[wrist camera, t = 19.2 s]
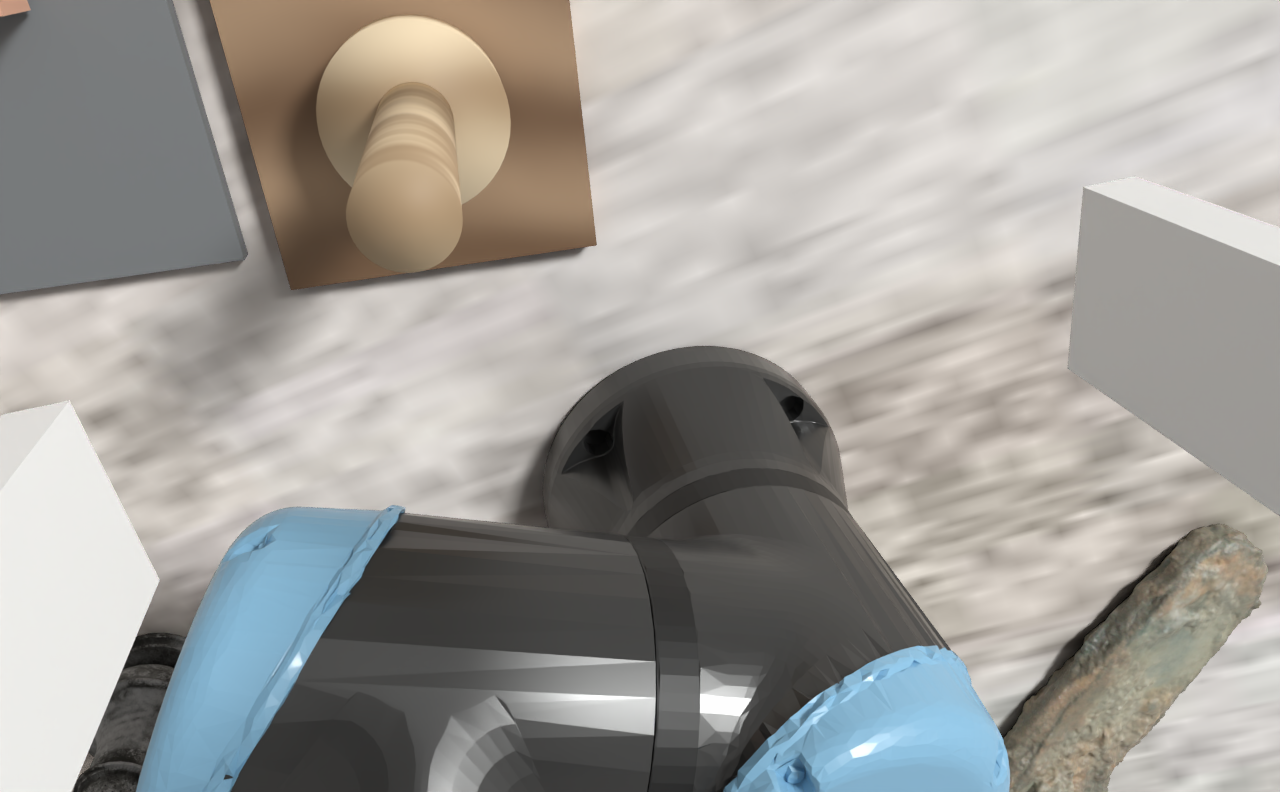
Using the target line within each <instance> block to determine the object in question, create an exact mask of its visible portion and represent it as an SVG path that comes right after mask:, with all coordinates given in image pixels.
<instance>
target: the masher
mask: <svg viewBox="0 0 1280 792" xmlns="http://www.w3.org/2000/svg"><path fill="white" fill-rule="evenodd" d="M316 117H317V125H318V131H319V135H320V139H321V142H322V145H323V147H324V150H325V152H326V154H327V156H328V158H329V160H330V161H331V163H332V165H333V166H334V168H335V169H336V171H337V172H338V173H339V174H340V176H341V177H342V178H343V179H344V180H345V181H346V182H347V183H348V184H349V185H350V186H351V187H352V189H351V192H350V195H349V198H348V202H347V208H346V221H347V227H348V230H349V233H350V236H351V238H352V240H353V242H354V243H355V245H356V246H357V248H358V249H359V250H360V251H361V253H362V254H363V255H365V256H366V257H367V258H368V259H369V260H371V261H372V262H373V263H375V264H377V265H379V266H380V267H383V268H385V269H388V270H391V271H395V272H402V273H413V272H420V271H424V270H427V269H430V268H432V267H434V266H436V265H438V264H439V263H441V262H442V261H443V260H445V259H446V258H447V257H448V256H449V255H450V254H451V252H452V251H453V250H454V248H455V247H456V245H457V243H458V241H459V238H460V235H461V232H462V225H463V216H462V204H464V203H466V202H468V201H469V200H471V199H472V198H473V197H475V196H476V195H478V194H479V193H480V192H481V191H482V190H483V189H484V188H485V187H486V186H487V185H488V184H489V183H490V182H491V180H492V179H493V178H494V176H495V175H496V173H497V172H498V170H499V169H500V166H501V164H502V162H503V160H504V158H505V155H506V152H507V148H508V144H509V138H510V128H511V119H510V109H509V104H508V99H507V96H506V93H505V90H504V87H503V84H502V82H501V80H500V77H499V75H498V73H497V71H496V69H495V67H494V65H493V63H492V62H491V60H490V59H489V57H488V56H487V54H486V53H485V52H484V51H483V49H482V48H481V47H480V46H479V45H478V44H477V43H476V42H475V41H474V40H473V39H472V38H471V37H470V36H468V35H467V34H466V33H464V32H463V31H461V30H460V29H458V28H457V27H455V26H453V25H451V24H449V23H447V22H445V21H442V20H439V19H437V18H433V17H429V16H425V15H416V14H398V15H393V16H387V17H384V18H381V19H378V20H375V21H373V22H371V23H369V24H367V25H365V26H363V27H362V28H360V29H359V30H357V31H356V32H355V33H353V34H352V35H351V36H350V37H349V38H348V39H347V40H346V41H345V42H344V43H343V45H342V46H341V47H340V48H339V50H338V51H337V52H336V54H335V55H334V56H333V58H332V59H331V60H330V62H329V64H328V66H327V67H326V69H325V71H324V74H323V76H322V79H321V82H320V85H319V90H318V94H317V103H316Z"/></svg>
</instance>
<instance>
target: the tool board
mask: <svg viewBox="0 0 1280 792" xmlns="http://www.w3.org/2000/svg"><path fill="white" fill-rule="evenodd" d="M210 4H211V7H212V11H213V14H214V18H215V21H216V25H217V28H218V32H219V36H220V39H221V43H222V46H223V50H224V53H225V57H226V61H227V64H228V68H229V71H230V75H231V78H232V82H233V85H234V89H235V93H236V96H237V100H238V103H239V107H240V110H241V114H242V118H243V121H244V125H245V128H246V132H247V135H248V139H249V142H250V146H251V150H252V153H253V157H254V160H255V164H256V167H257V171H258V174H259V178H260V182H261V185H262V189H263V192H264V196H265V199H266V203H267V207H268V210H269V214H270V217H271V221H272V224H273V228H274V231H275V235H276V239H277V242H278V246H279V249H280V253H281V256H282V260H283V263H284V267H285V271H286V274H287V278H288V281H289V285H290V288H291V290H295V289H302V288H309V287H316V286H323V285H329V284H336V283H343V282H350V281H357V280H363V279H370V278H377V277H384V276H391V275H398V274H404V273H402V272H395V271H391V270H388V269H385V268H383V267H380V266H379V265H377V264H375V263H373V262H372V261H371V260H369V259H368V258H367V257H366V256H365V255H363V254H362V253H361V251H360V250H359V249H358V248H357V246H356V245H355V243H354V242H353V240H352V238H351V236H350V233H349V230H348V227H347V221H346V208H347V202H348V198H349V195H350V192H351V189H352V187H351V186H350V185H349V184H348V183H347V182H346V181H345V180H344V179H343V178H342V177H341V176H340V174H339V173H338V172H337V171H336V169H335V168H334V166H333V165H332V163H331V161H330V160H329V158H328V156H327V154H326V152H325V150H324V147H323V145H322V142H321V139H320V135H319V131H318V125H317V117H316V103H317V94H318V90H319V85H320V82H321V79H322V76H323V74H324V71H325V69H326V67H327V66H328V64H329V62H330V60H331V59H332V58H333V56H334V55H335V54H336V52H337V51H338V50H339V48H340V47H341V46H342V45H343V43H344V42H345V41H346V40H347V39H348V38H349V37H350V36H351V35H352V34H353V33H355V32H356V31H357V30H359V29H360V28H362V27H363V26H365V25H367V24H369V23H371V22H373V21H375V20H378V19H381V18H384V17H387V16H393V15H398V14H416V15H425V16H429V17H433V18H437V19H439V20H442V21H445V22H447V23H449V24H451V25H453V26H455V27H457V28H458V29H460V30H461V31H463V32H464V33H466V34H467V35H468V36H470V37H471V38H472V39H473V40H474V41H475V42H476V43H477V44H478V45H479V46H480V47H481V48H482V49H483V51H484V52H485V53H486V54H487V56H488V57H489V59H490V60H491V62H492V63H493V65H494V67H495V69H496V71H497V73H498V75H499V77H500V80H501V82H502V84H503V87H504V90H505V93H506V96H507V99H508V104H509V109H510V119H511V128H510V138H509V144H508V148H507V152H506V155H505V158H504V160H503V162H502V164H501V166H500V169H499V170H498V172H497V173H496V175H495V176H494V178H493V179H492V180H491V182H490V183H489V184H488V185H487V186H486V187H485V188H484V189H483V190H482V191H481V192H480V193H479V194H478V195H476V196H475V197H473V198H472V199H471V200H469V201H468V202H466V203H464V204H462V216H463V225H462V232H461V235H460V238H459V241H458V243H457V245H456V247H455V248H454V250H453V251H452V252H451V254H450V255H449V256H448V257H447V258H446V259H445V260H443V261H442V262H441V263H439V264H438V265H436V266H434V267H432V268H430V269H427V270H432V269H438V268H445V267H452V266H459V265H466V264H473V263H479V262H486V261H493V260H500V259H507V258H513V257H520V256H527V255H534V254H541V253H548V252H554V251H561V250H568V249H575V248H582V247H589V246H595V245H597V244H596V235H595V226H594V217H593V208H592V199H591V190H590V181H589V172H588V163H587V154H586V145H585V137H584V128H583V119H582V110H581V101H580V92H579V83H578V74H577V65H576V56H575V47H574V38H573V29H572V20H571V11H570V2H569V0H210ZM424 271H425V270H424Z"/></svg>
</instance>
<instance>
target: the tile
mask: <svg viewBox="0 0 1280 792" xmlns="http://www.w3.org/2000/svg"><path fill="white" fill-rule="evenodd" d="M30 10H31V9H30V6H29V4H28V1H27V0H0V17H1V16H7V15H11V14H16V13H21V12H25V11H30Z"/></svg>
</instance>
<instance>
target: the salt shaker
mask: <svg viewBox="0 0 1280 792" xmlns="http://www.w3.org/2000/svg"><path fill="white" fill-rule="evenodd" d="M185 640H186V638H185V637H182V636H179V635H173V634H167V633H155V634H146V635H141V636H137V637H136V638H135V641H134V643H133V645H132V648H131V650H130V653H129V655H128V657H127V660H126V662H125V665H124V667H123V669H122V672H121V674H120V677H119V679H118V681H117V684H116V686H115V689H114V691H113V693H112V696H111V698H110V701H109V703H108V706H107V708H106V710H105V713H104V715H103V718H102V720H101V722H100V725H99V727H98V730H97V732H96V734H95V737H94V739H93V742H92V744H91V746H90V749H89V751H88V752H89V753H90V754H91V755H92V756H93V757H94V759H93V761H92V764H91V766H90V768H89V769H88V770H86V771H85V772H84V773H83V774H81V775H80V777H79V778H78V780H77V781H76V783H75V787H74V791H73V792H136V789H137V785H138V781H139V777H140V773H141V770H142V766H143V763H144V760H145V756H146V753H147V749H148V746H149V743H150V740H151V736H152V733H153V730H154V727H155V724H156V720H157V717H158V714H159V711H160V708H161V705H162V703H163V700H164V697H165V694H166V691H167V688H168V685H169V682H170V679H171V677H172V674H173V671H174V668H175V666H176V663H177V660H178V658H179V655H180V653H181V650H182V647H183V645H184V642H185Z"/></svg>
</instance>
